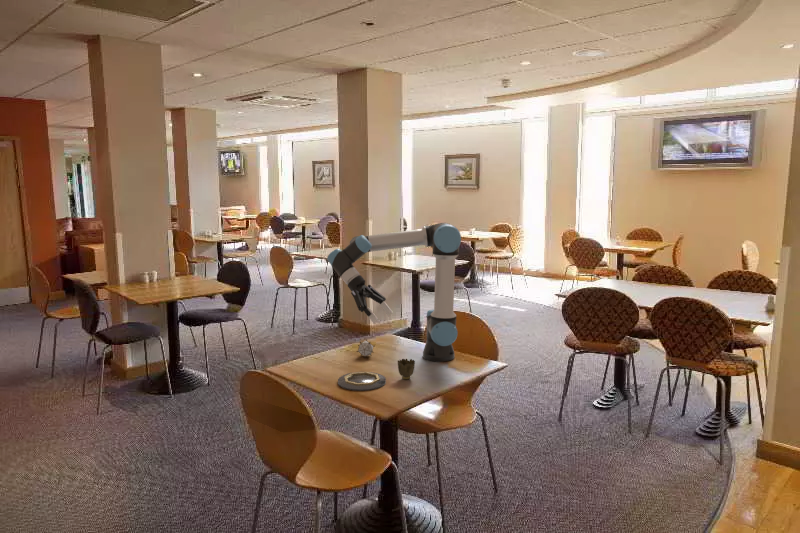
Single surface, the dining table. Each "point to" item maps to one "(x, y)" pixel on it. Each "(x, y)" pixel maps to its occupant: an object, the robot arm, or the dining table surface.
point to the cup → (406, 368)
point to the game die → (365, 348)
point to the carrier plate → (361, 381)
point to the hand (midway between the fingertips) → (383, 317)
